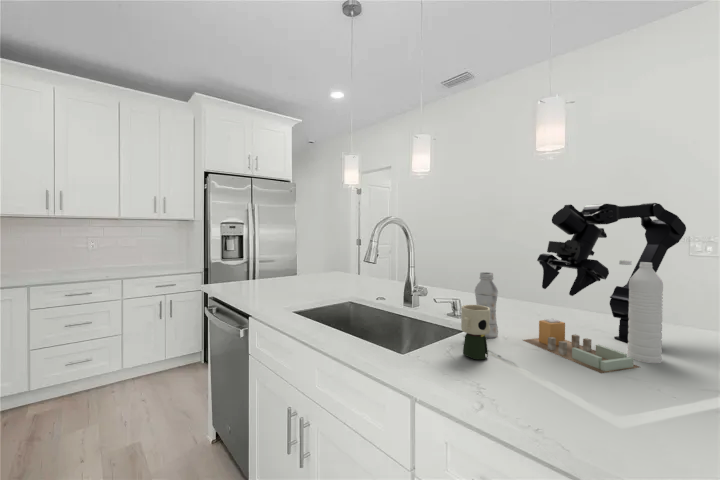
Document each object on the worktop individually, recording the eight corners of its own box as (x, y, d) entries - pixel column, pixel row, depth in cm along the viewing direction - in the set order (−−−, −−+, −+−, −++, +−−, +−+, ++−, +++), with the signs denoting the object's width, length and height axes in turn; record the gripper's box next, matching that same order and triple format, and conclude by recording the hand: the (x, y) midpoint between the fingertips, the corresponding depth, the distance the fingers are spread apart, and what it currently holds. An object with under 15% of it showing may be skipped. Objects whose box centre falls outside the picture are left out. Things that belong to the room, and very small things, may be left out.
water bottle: (665, 364, 84) (667, 262, 83) (655, 370, 81) (658, 263, 80) (623, 353, 91) (624, 259, 91) (612, 358, 88) (614, 261, 87)
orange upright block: (553, 339, 99) (553, 317, 99) (564, 344, 95) (565, 321, 95) (538, 341, 98) (539, 319, 98) (550, 346, 94) (550, 322, 94)
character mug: (477, 366, 83) (477, 313, 83) (451, 358, 88) (451, 308, 88) (498, 355, 90) (498, 306, 90) (473, 348, 96) (473, 302, 95)
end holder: (598, 354, 88) (598, 344, 88) (633, 367, 79) (633, 356, 79) (571, 357, 85) (572, 347, 85) (604, 371, 77) (604, 360, 77)
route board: (555, 340, 103) (555, 326, 102) (640, 372, 79) (641, 354, 79) (522, 344, 99) (522, 329, 99) (600, 378, 76) (601, 359, 76)
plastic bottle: (500, 343, 100) (500, 274, 100) (475, 341, 102) (476, 274, 101) (496, 336, 107) (496, 272, 106) (473, 335, 108) (473, 271, 107)
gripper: (537, 227, 104) (512, 272, 102) (594, 229, 86) (565, 283, 84) (561, 246, 107) (538, 290, 105) (621, 252, 89) (594, 304, 87)
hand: (556, 291), depth 95 cm, fingers open, 9 cm apart
